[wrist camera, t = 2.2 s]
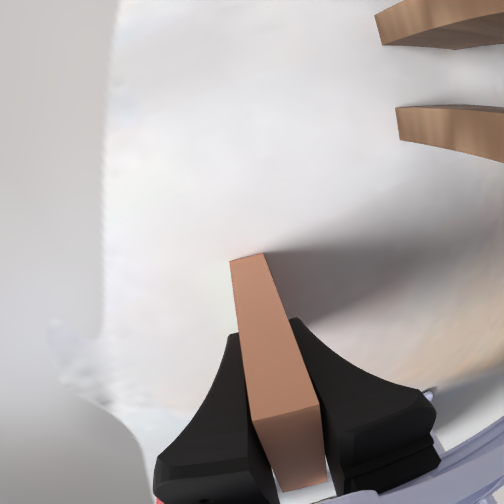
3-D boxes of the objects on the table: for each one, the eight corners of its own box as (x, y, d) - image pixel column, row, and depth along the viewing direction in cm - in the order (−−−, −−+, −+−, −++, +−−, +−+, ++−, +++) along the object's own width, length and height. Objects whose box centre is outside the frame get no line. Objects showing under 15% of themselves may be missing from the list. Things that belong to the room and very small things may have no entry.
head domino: (262, 253, 15) (319, 403, 7) (281, 335, 17) (327, 481, 9) (229, 261, 15) (252, 421, 7) (252, 342, 17) (282, 492, 9)
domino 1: (455, 49, 12) (590, 42, 3) (382, 44, 12) (533, 7, 3) (448, 23, 11) (579, 3, 3) (374, 15, 11) (513, -42, 3)
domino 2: (468, 132, 14) (602, 167, 5) (399, 139, 13) (555, 179, 5) (465, 104, 13) (602, 125, 5) (395, 107, 13) (555, 121, 5)
